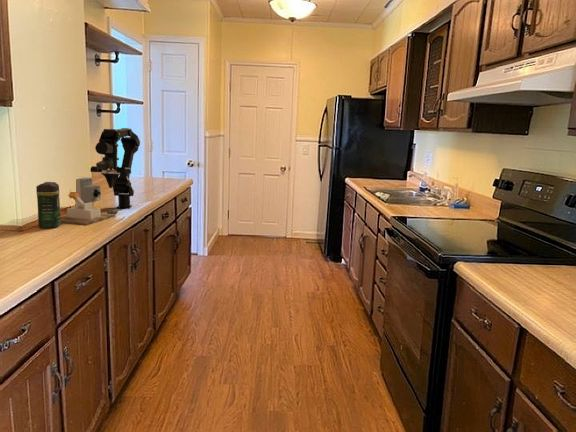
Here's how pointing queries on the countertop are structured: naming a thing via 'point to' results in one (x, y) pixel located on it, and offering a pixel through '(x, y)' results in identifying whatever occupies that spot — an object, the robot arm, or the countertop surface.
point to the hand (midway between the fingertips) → (110, 187)
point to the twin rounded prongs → (112, 211)
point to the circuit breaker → (87, 190)
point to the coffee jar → (48, 205)
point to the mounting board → (85, 221)
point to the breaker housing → (83, 211)
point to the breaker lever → (76, 198)
